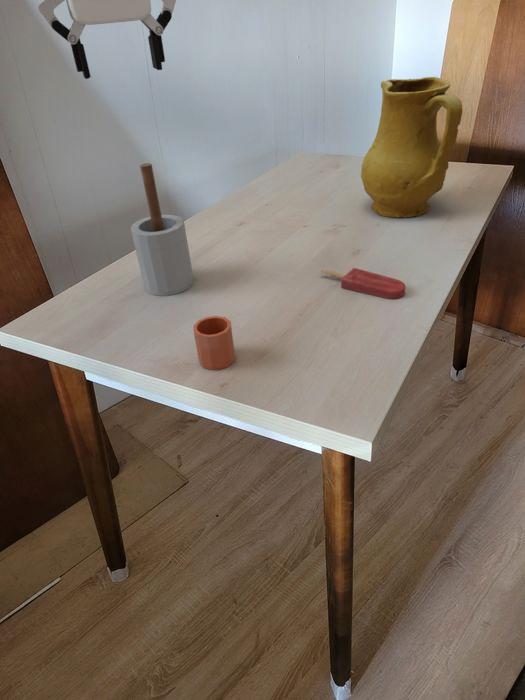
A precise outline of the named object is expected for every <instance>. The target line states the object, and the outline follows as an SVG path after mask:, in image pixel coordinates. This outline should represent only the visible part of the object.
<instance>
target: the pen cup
mask: <svg viewBox="0 0 525 700" xmlns="http://www.w3.org/2000/svg"><path fill="white" fill-rule="evenodd" d="M192 331H193V336H194V342H195V347H196V353H197V359H198V361H199V364H200V366H201V367H203V368H204V369H207V370H209V371H217V370H223V369H226V368H228V367H230V366H231V365H232V364H233V363H234V362H235V360H236V353H235V352H236V351H235V345H234V336H233V329H232V321H231V320H230V319H228V318H227V317H225V316H220V315H211V316H205V317H204V318H201V319H199V320H197V321H196V323H194V324H193V330H192Z"/></svg>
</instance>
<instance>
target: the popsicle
mask: <svg viewBox="0 0 525 700" xmlns="http://www.w3.org/2000/svg"><path fill="white" fill-rule="evenodd" d="M320 273H322V274H325V275H329V276H333V277H337V278H340V288H342V289H345V290H349V291H354V292H357V293H358V292H359V293H363V294H366V295H371V296H375V297H380V298H384V299H389V300H390V299H391V300H394V299H400V298H402V297H403V296H405V294H406V285H405V283H404V282H403V281H402V280H399V279H397V278H394V277H390V276H386V275H383V274H379V273H374V272H371V271H367V270H364V269H360V268H356V267H353V268H351V270H349V271H348V272H347V273H346V274H344V273H339V272H335V271H331V270H327V269H321V270H320Z"/></svg>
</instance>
